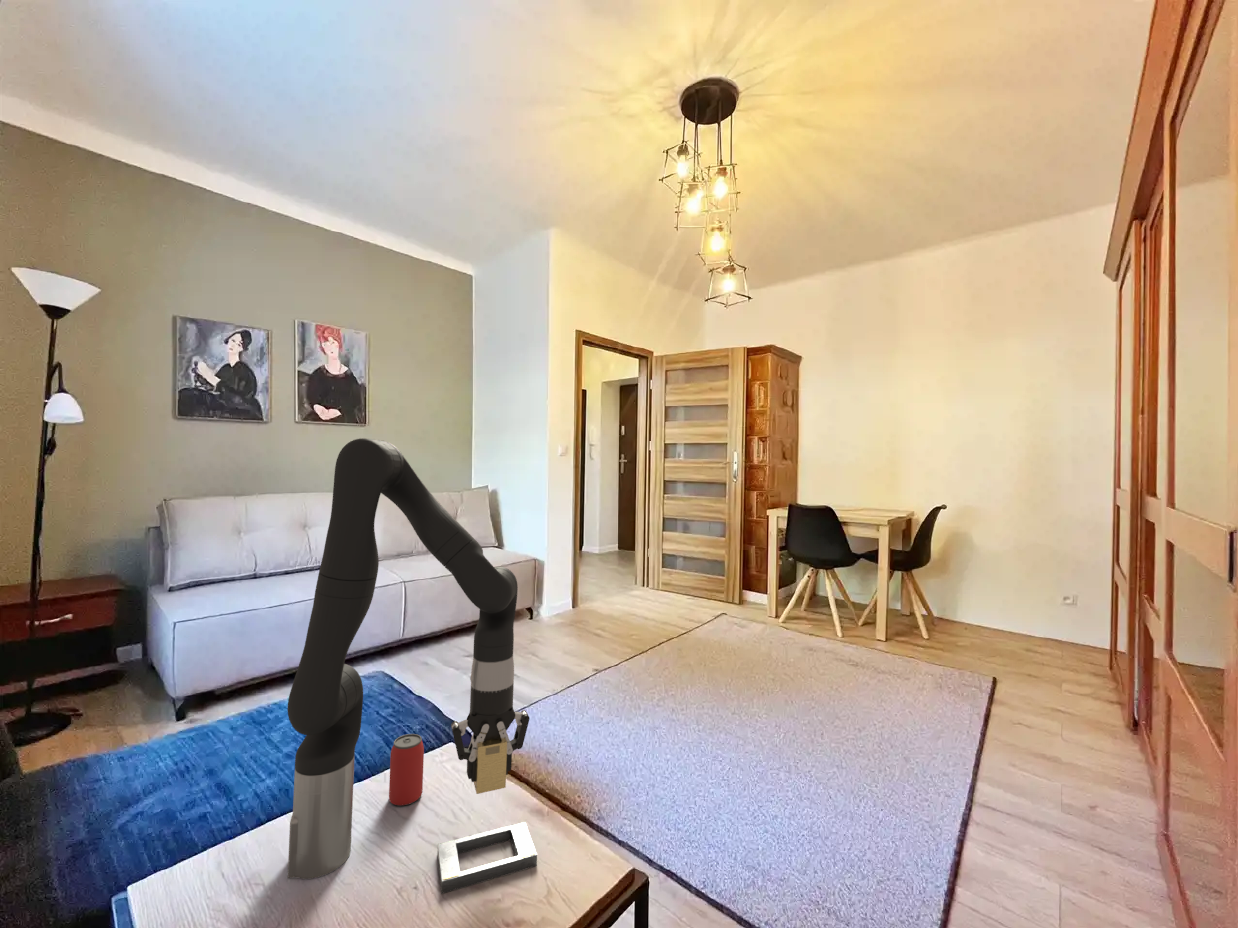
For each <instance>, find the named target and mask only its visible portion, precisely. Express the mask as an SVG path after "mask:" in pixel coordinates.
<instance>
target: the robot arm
mask: <svg viewBox="0 0 1238 928" xmlns="http://www.w3.org/2000/svg"><path fill="white" fill-rule="evenodd" d="M333 474H334V476H333V477H334V478H333V487H332V488H333V491H332V501H331V502H332V503H331V512H330V518H329V522H328V528H327V533H326V537H325V543H324V546H323V547H324V548H323V553H322V558H321V563H320V567H319V569H318V571H319V572H318V574H317V575H318V576H317V581H316V586H315V590H314V597H313V605H312V608H311V614H310V616H309V617H310V618H309V621H308V627H307V631H306V638H305V641H304V642H305V643H304V646H303V651H302V653H301V654H302V655H301V657H300V661H299V664H298V666H297V670H296V673H295V676H294V679H293V682H292V686H291V689H290V691H289V695H288V700H287V716H288V721H289V722H290V725H291V726H292V728H293V729H294V730H295V731H296V732H297V733H299V734H302V735H305V737H304V739H303V740H302V741H301V743H300V745H299V746H298V748H297V750H296V752H295V758H294V761H295V762H294V775H293V776H294V778H293V779H294V780H293V783H294V784H293V800H292V801H293V802H292V805H293V806H292V814H291V817H290V821H289V837H288V838H289V839H288V842H289V843H288V860H287V861H288V863H287V879H292V878H298V879H302V880H303V879H304V880H310V879H316V878H320V877H323V876H325V875H328V874H331V873H332V872H334V871H335V870H337V869H338V868H340V867H341V866H342V865H343V864H344V863H346V862H347V860H348V858H349V856H350V855H351V851H352V849H351V847H352V823H353V801H354V780H355V779H354V778H355V777H354V775H355V756H356V755H355V752H356V745H357V743H358V741H359V739H360V738H359V737H360V734H361V727H362V719H363V718H362V717H363V716H362V715H363V705H364V686H363V685H364V684H363V681H362V678H361V675H360V674H359V672H358V671H357V670H356V669H355V668H354V667H353V666H351V665H349V664H346V663H345V661H346V657H347V655H348V652H349V649H350V646H351V645H352V643H353V641H354V639H355V636H356V635H357V633H358V631H359V629H360V627H361V625H362V623H363V621H364V619H365V618H366V616H367V613H368V611H369V609H370V606H371V604H372V602H373V598H374V594H375V588H376V584H377V578H378V574H379V563H380V562H379V561H380V560H379V552H378V551H379V550H378V545H377V539H376V533H375V522H376V521H375V520H376V514H377V510H378V509H377V508H378V505H379V501H380V497H381V495H383V496H384V497H386V498H387V499H388V500H390V501H391V502H392V503H393V504H394V505H395V506H396V507H398V509H399V510H400V511H401V512H402V513H403V515H404V516H405V517H406V519H407V521H408V522H409V523H410V525H411V526H412V529H413V530H414V532H415V534H416V535H417V537H418V539H419V540H420V542H421V543H422V544H423V546H424V547H425V548H426V549H427V550H428V551H429V553H430V554H431V555H432V556H433V557H434V558H435V559H436V561H438V562H439V563H440V565H442V566H443V567H444V568H445V569H446V570H447V571H449V572H450V573H451V574H452V576H453V577H454V579H455V580H456V583H457V584H458V585H459V587H460V588H461V590H462V591H463V593H464V594H465V596H466V597H467V599H468V600H469V601H470V602H471V603H472V604H473V605H474V606H475V607H476V608H477V609H479V615H478V622H477V624H476V627H475V629H474V634H473V635H474V636H473V655H472V656H473V658H472V663H471V672H470V674H471V675H470V696H469V697H470V699H469V700H470V701H469V713H468V716H466V719H464V720H460V721H459V722H458V721H457V720H454V721H452V722H451V724H450V725H451V731H452V735H453V740H454V743H455V748H456V749H455V750H456V753H457V754H456V755H457V758H458V760H459V761H464V760H466V774H467V778H468V780H470V781H471V783H474V782H475V781H476V757H477V747H478V745H481V744H483V741H488V740H490V739H499V738H500V737H501V739H502V740H507V761H506V776H507V775H509V772H510V771H512V770H511V769H512V765H513V762H512V761H513V758H512V757H513V753H514V751H516V750H521V749H523V745H524V742H525V739H526V735H527V730H528V726H529V724H530V723H529V722H530V716H529V714H528V712H527V711H526V710H525V709H523V710H521V711H515V710H514V686H515V685H514V683H515V682H514V680H515V663H514V640H515V639H514V637H515V635H514V625H515V617H516V610H517V604H518V603H517V601H518V592H519V591H518V580H517V578H516V576H515V574H514V572H513V571H511V570H510V569H509V568H507V567H504V566H495V567H494V566H493V564H492V563H491V562H490V561H489V559H487V557H485V555H484V551H483V548H482V546H481V545H480V543H479V542H478V541H477V539H475V538H474V537H473V535H471V534H470V533H469V532H468V531H467V530H466V529H465V527H463V525H461V524H460V522H459V521H458V520H456V519H455V518H454V517H453V516H452V514H451V513H449V511H448V510H447V509H446V508H445V507H444V506H443V505H442V504H441V503H440V502H439V501H438V500H437V498H435V496H434V495H433V494H432V492H431V491H430V490H429V489H428V487H426V485H425V484H424V483H423V481H422V480H421V479H420V477H419V476H418V475H417V473H416V472H415V470H414V468H412V465H411V464H410V463H409V462H408V460H407V459H406V458H405V456H404V455H403V453H402V452H401V451H400V450H399V447H397V446H395V445H394V444H392V443H391V442H389V441H385V440H380V439H375V438H365V437H363V438H361V437H360V438H356V439H353V440H350V441H349V442H347V443H346V444H345V445H344V446H343V447H342V448H341V450H340V451H339V453H338V455H337V458H336V461H335V466H334V473H333ZM514 720H515V724H516V728H515V731H514V735H513V739H511V740H510V737H509V735H508V733H507V731H508V729H509V728H510V726H511V725H512V723H513V722H514ZM467 728H469V729H470V731H471V732H472V735H471V738H470V743H469V745H468V748H466V747H464V742H463V738H462V736H464V735H465V734H466V729H467ZM476 737H477V739H476Z"/></svg>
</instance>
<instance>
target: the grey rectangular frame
mask: <svg viewBox="0 0 1238 928" xmlns="http://www.w3.org/2000/svg"><path fill="white" fill-rule="evenodd" d="M508 841H510V843H511V847H512V849H513V852H514V856H512V857H508V858H504V859H500V860H497V861H493V862H490V863H485V864H483V865H479V866H476V867H472V868H468V869H464V870H461V868H460V863H459V854H462V853H463V854H464V853H467V852H470V851H474V850H477V849H481V848H485V847H490V846H494V845H496V844H501V843H504V842H508ZM436 854H437V863H438V864H437V865H438V874H439V882H440V884H439V885H440V892H441V894H445V893H449V892H452V891H455V890H460V889H463V888H467V887H469V886H473V885H476V884H477V885H478V884H480V883H483V882H486V881H491V880H493V879H497V878H500V877H504V876H507V875H511V874H515V873H518V872H521V871H524V870H527V869H531V868H535V867H537V866H538V853H537V851H536V847H535V845H534V843H533V840H532V837H531V834H530V832H529V828H528V825H527V823H526V821H523V822H520V823H516V824H512V825H508V826H504V827H500V828H496V829H493V830H488V831H484V832H480V833H475V834H473V835H472V834H471V835H468V836H464V837H460V838H457V839H453V840H449V841H445V842H441V843H438V844H437V853H436Z"/></svg>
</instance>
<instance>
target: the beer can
mask: <svg viewBox="0 0 1238 928" xmlns="http://www.w3.org/2000/svg"><path fill="white" fill-rule="evenodd" d="M424 752H425V747H424V742H423V739H422V736H421V735H419V734H417V733H416V734H415V733H408V734H403V735H400V736H398V737H397V738H396V739H395V740H394V741H393V746H392V747H391V750H390V761H389V764H390V765H389V785H388V786H389V788H388V801H389V802H390V803H391V804H392V805H395V806H399V807H400V806H401V807H402V806H404V807H405V806H408V805H411V804H413V803H414V802H417V801H418V800H419V799H420V797H421V796H422V795H423V787H424V786H423V784H424V763H425V762H424V759H425V757H424V756H425V753H424Z"/></svg>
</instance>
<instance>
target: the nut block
mask: <svg viewBox="0 0 1238 928" xmlns="http://www.w3.org/2000/svg"><path fill="white" fill-rule="evenodd" d="M476 739H477V737H476ZM506 761H507V740H502V739H501V737H500V738H499V739H490V740H488V741H483V744H481V745H478V747H477V757H476V781H475V782H473V786H474V789H475V794H476V795H479V794H484V793H487V792H493V791H497V790H501V789H505V788H506V787H507V782H506V781H507V775H506Z"/></svg>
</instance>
